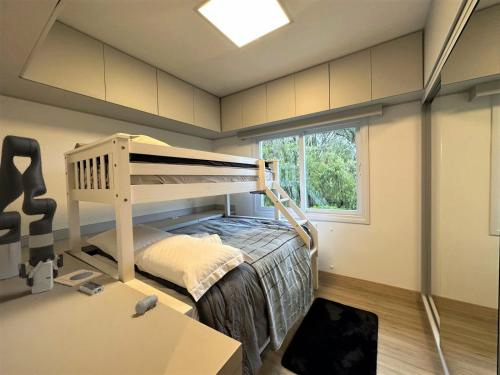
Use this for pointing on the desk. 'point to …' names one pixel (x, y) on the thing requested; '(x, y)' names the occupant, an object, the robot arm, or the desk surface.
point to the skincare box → (43, 278)
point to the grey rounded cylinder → (146, 304)
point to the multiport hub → (91, 288)
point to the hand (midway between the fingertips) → (43, 282)
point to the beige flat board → (76, 277)
